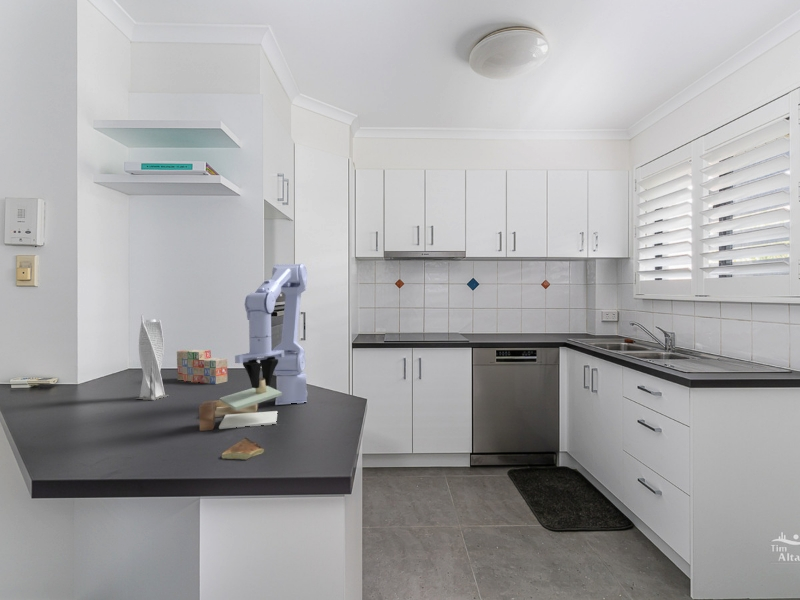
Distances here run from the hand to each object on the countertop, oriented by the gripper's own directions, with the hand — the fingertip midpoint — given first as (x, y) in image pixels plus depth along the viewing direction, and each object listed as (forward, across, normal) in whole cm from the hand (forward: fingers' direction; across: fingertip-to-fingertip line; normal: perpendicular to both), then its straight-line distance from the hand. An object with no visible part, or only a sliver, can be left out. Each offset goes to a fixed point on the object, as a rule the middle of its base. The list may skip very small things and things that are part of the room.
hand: (261, 386), depth 123 cm
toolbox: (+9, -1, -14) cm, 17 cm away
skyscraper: (+9, +4, -55) cm, 56 cm away
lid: (+3, +2, -1) cm, 4 cm away
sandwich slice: (+10, +19, +18) cm, 27 cm away
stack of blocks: (+9, -23, -69) cm, 73 cm away
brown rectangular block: (+9, +12, -6) cm, 16 cm away
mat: (+9, +2, -2) cm, 9 cm away
